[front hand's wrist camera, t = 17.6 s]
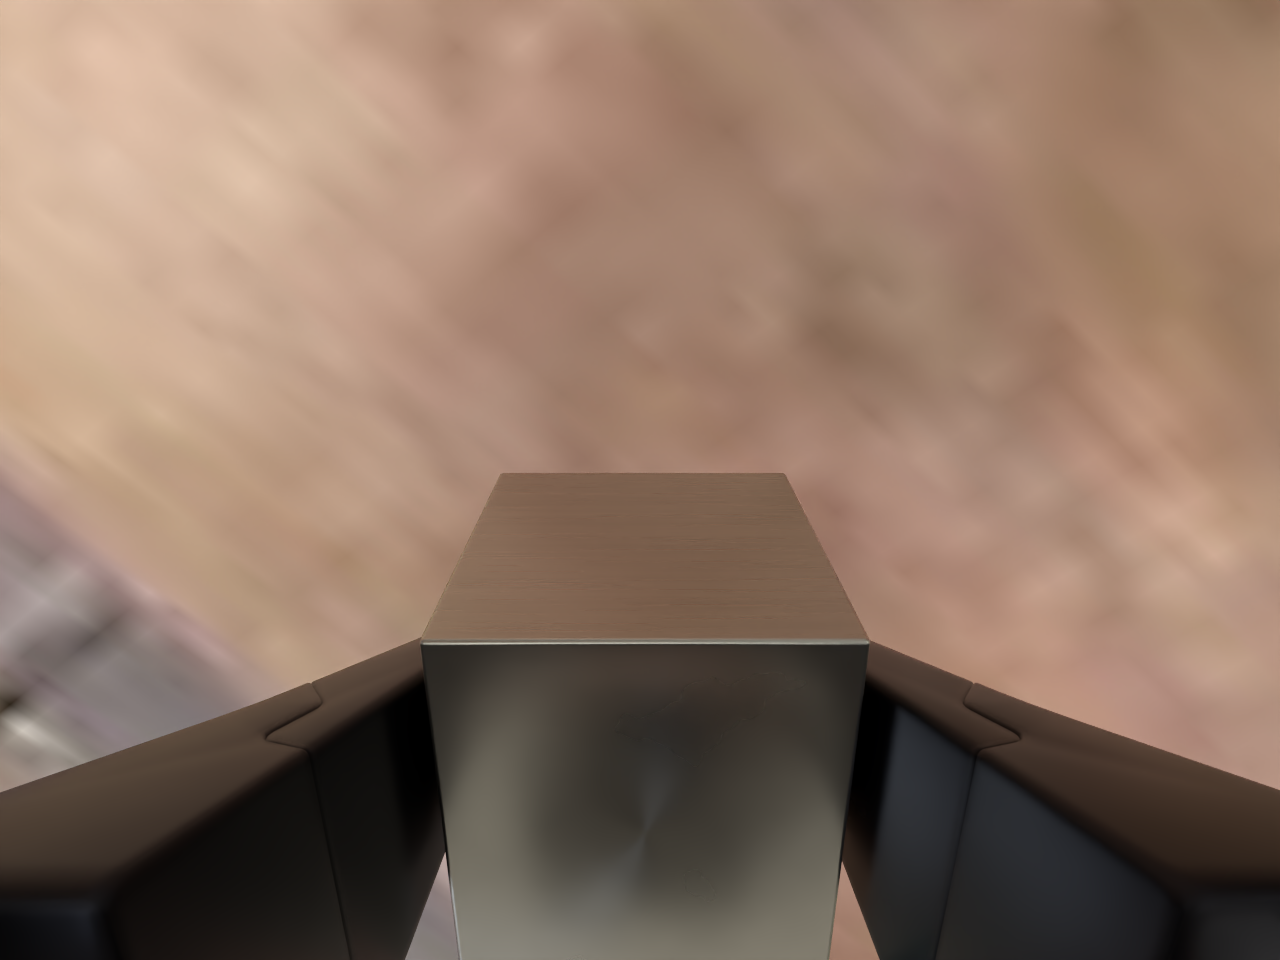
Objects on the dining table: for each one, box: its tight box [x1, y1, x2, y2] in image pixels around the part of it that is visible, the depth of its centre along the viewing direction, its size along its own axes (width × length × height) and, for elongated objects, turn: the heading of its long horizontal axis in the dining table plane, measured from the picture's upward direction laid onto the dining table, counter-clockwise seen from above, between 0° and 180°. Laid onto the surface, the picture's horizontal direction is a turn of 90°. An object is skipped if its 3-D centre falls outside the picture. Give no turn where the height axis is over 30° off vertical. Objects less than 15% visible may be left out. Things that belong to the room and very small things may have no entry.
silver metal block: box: [420, 473, 870, 960], centre depth 11 cm, size 5×4×5 cm
